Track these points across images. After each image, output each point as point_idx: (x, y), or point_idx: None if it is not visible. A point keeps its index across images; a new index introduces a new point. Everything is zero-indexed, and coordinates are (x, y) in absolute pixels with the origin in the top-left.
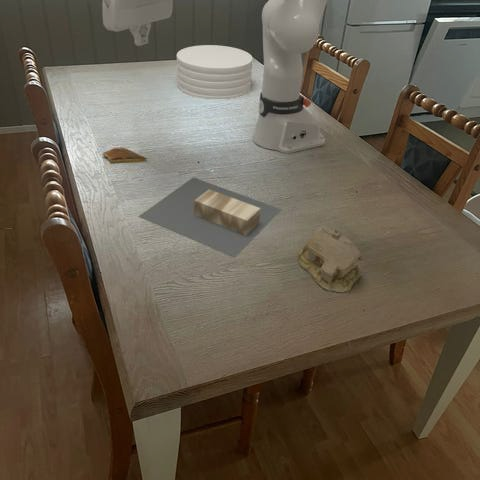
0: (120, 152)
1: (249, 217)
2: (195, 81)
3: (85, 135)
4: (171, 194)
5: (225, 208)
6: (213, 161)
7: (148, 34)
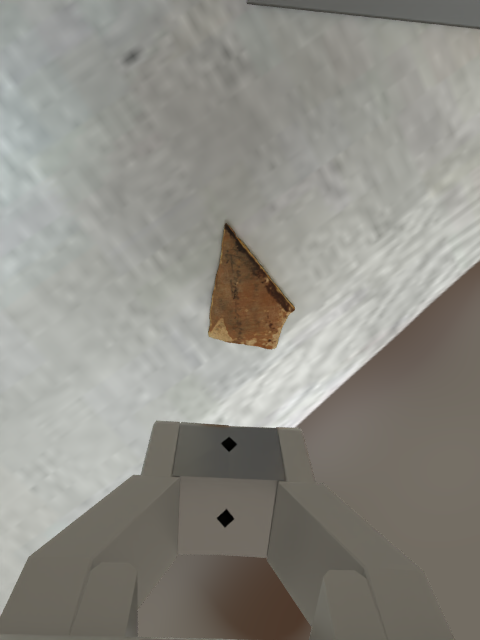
0: (243, 311)
1: None
2: None
3: None
4: (386, 9)
5: None
6: (89, 4)
7: (128, 483)
